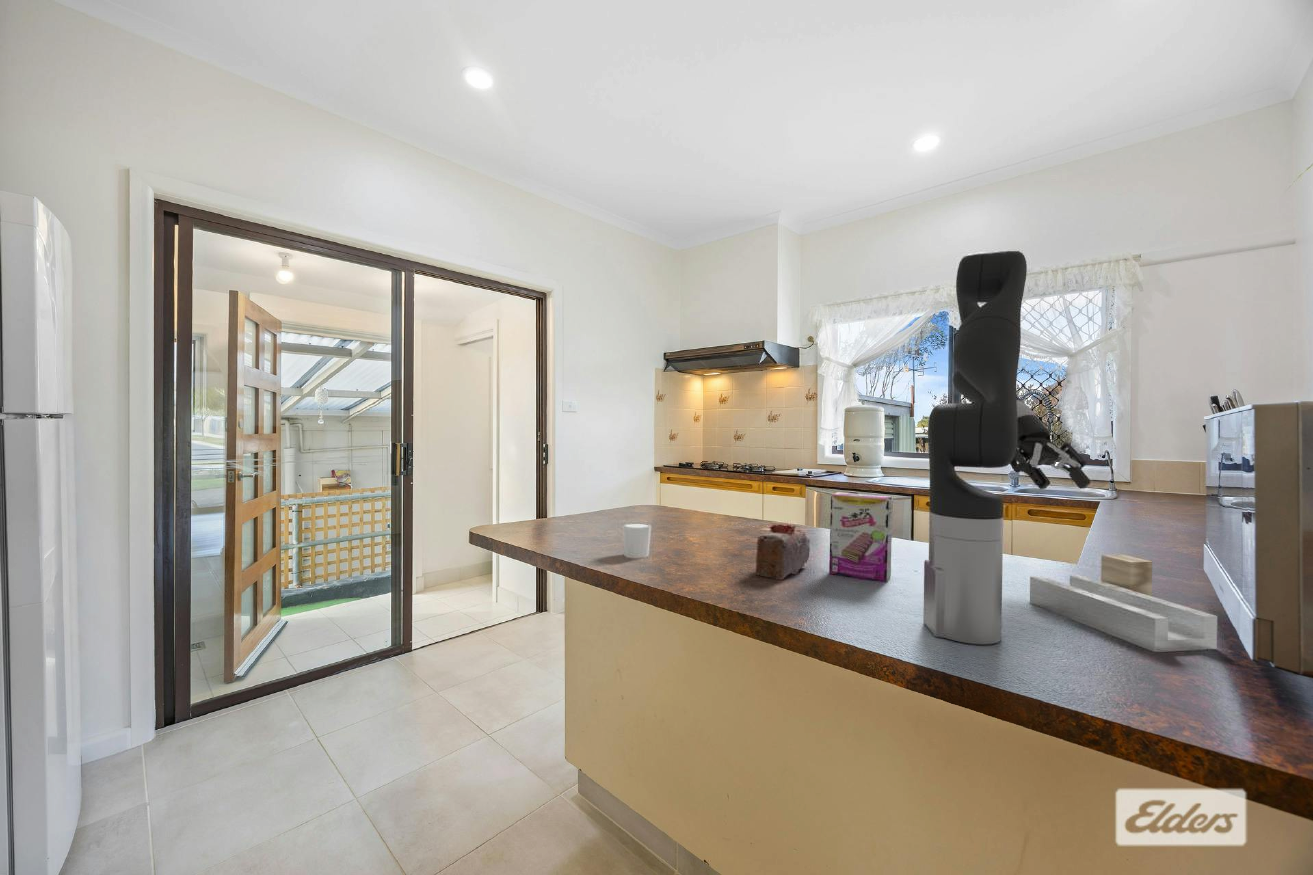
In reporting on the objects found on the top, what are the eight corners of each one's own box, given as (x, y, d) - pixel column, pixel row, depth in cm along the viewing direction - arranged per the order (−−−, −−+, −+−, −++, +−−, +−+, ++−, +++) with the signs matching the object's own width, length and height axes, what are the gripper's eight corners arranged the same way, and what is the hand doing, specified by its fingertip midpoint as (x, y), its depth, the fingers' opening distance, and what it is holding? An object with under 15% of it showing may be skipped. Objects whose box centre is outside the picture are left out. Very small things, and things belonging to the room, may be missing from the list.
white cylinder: (618, 558, 118) (618, 527, 118) (625, 551, 125) (625, 522, 125) (648, 559, 117) (648, 528, 117) (653, 552, 124) (653, 523, 124)
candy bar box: (828, 574, 106) (829, 493, 106) (834, 569, 110) (835, 491, 110) (887, 583, 100) (889, 498, 100) (891, 577, 104) (893, 495, 104)
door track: (1154, 652, 70) (1155, 618, 69) (1029, 602, 89) (1030, 576, 89) (1216, 648, 71) (1217, 615, 71) (1079, 600, 91) (1080, 575, 90)
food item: (776, 561, 116) (776, 517, 116) (812, 567, 112) (812, 521, 112) (751, 575, 105) (752, 526, 105) (790, 582, 101) (791, 531, 101)
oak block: (1130, 610, 86) (1131, 562, 86) (1100, 600, 91) (1101, 554, 91) (1151, 609, 86) (1152, 561, 86) (1120, 600, 91) (1121, 554, 91)
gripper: (997, 413, 108) (1044, 474, 96) (1059, 413, 109) (1113, 473, 98) (978, 438, 113) (1020, 498, 102) (1038, 438, 115) (1086, 497, 104)
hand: (1066, 486), depth 100 cm, fingers open, 8 cm apart
